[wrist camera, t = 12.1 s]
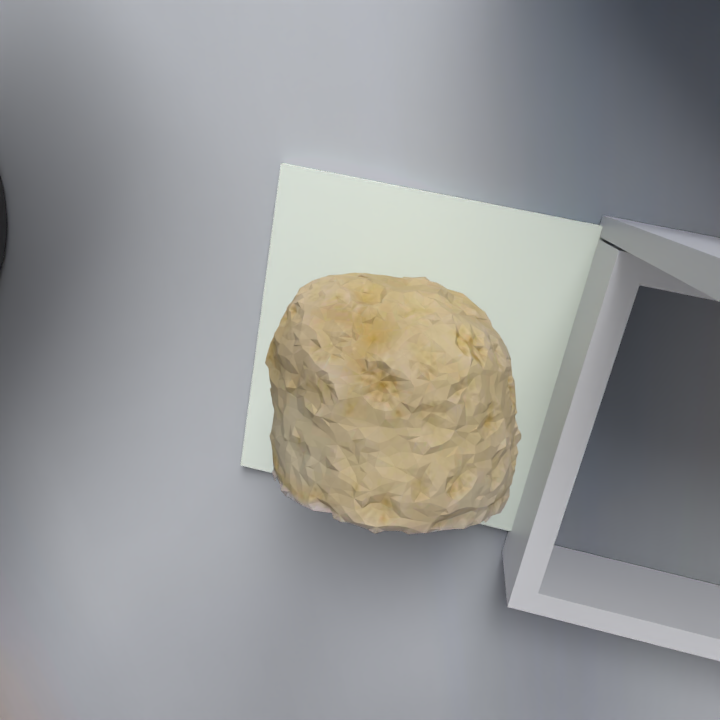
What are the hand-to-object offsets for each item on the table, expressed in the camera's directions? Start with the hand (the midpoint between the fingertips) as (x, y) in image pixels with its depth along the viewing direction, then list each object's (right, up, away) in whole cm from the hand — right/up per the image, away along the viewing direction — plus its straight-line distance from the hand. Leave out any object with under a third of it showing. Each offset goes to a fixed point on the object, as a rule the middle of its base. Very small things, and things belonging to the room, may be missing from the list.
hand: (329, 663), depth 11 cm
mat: (+3, +5, +17) cm, 18 cm away
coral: (+3, +5, +17) cm, 18 cm away
